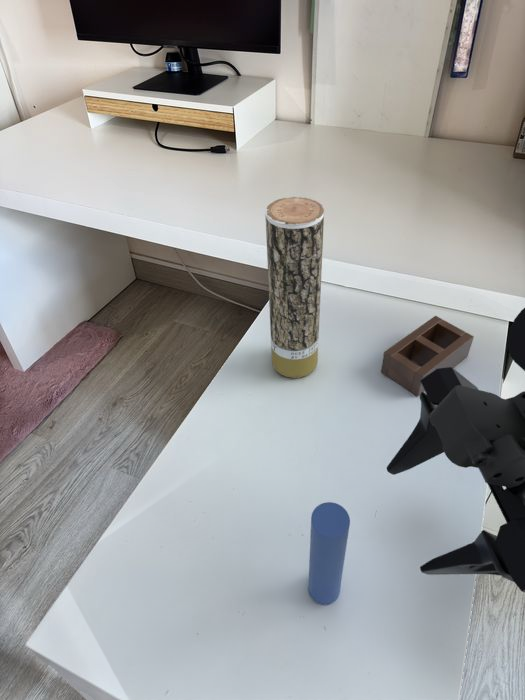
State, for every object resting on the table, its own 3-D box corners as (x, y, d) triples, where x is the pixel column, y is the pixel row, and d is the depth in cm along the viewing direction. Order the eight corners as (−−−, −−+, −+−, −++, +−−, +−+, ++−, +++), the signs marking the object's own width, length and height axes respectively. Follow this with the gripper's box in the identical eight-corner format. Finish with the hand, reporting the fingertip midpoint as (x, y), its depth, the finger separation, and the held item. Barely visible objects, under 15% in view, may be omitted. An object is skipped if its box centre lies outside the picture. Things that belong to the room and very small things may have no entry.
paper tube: (321, 352, 77) (329, 199, 60) (311, 384, 72) (316, 228, 55) (279, 345, 79) (274, 194, 62) (266, 375, 74) (257, 221, 57)
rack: (467, 356, 75) (474, 336, 72) (417, 396, 70) (422, 376, 67) (430, 335, 79) (435, 315, 76) (380, 371, 73) (383, 351, 71)
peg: (346, 589, 51) (358, 520, 42) (324, 611, 50) (330, 545, 40) (323, 566, 53) (330, 495, 44) (301, 586, 52) (303, 517, 42)
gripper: (468, 287, 39) (320, 398, 46) (619, 506, 25) (376, 617, 32) (534, 352, 44) (394, 442, 51) (686, 559, 31) (467, 643, 38)
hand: (405, 517), depth 43 cm, fingers open, 9 cm apart
